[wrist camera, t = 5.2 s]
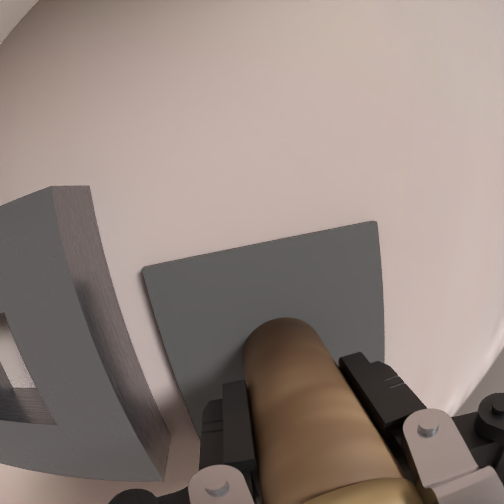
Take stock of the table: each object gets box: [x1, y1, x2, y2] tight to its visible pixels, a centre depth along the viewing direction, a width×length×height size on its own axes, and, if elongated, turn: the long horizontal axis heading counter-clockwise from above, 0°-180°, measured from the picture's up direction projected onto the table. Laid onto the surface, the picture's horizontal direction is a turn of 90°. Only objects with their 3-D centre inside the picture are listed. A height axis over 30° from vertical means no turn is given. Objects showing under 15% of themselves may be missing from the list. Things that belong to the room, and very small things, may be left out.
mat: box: [142, 221, 384, 441], centre depth 12 cm, size 9×9×1 cm
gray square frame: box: [0, 186, 171, 481], centre depth 10 cm, size 12×12×3 cm
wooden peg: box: [243, 317, 423, 504], centre depth 8 cm, size 3×3×9 cm
